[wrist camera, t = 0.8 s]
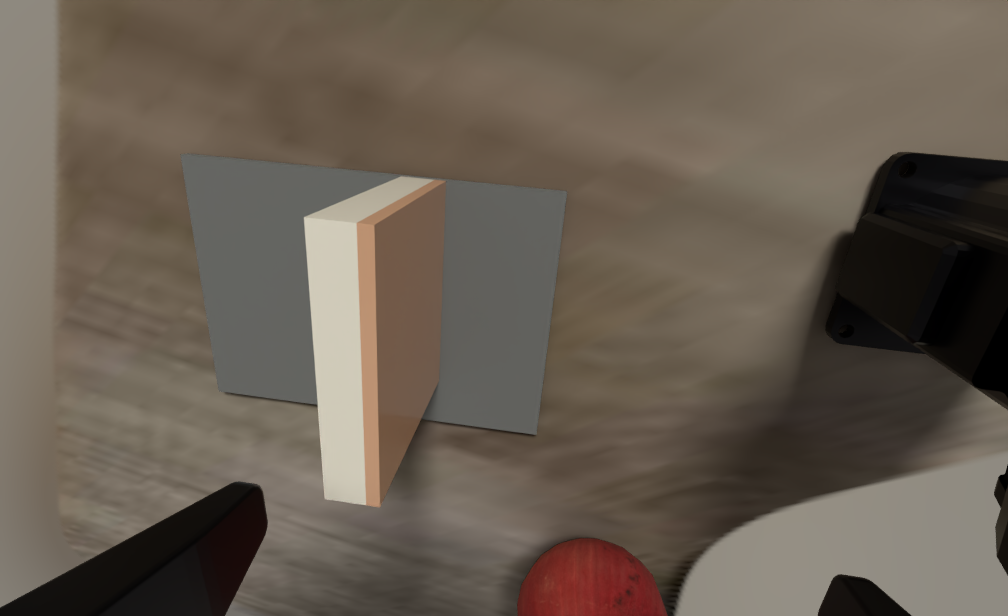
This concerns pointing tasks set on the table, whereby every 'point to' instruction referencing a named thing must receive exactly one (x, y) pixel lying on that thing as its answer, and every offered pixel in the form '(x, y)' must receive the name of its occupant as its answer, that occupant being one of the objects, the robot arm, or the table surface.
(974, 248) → the robot arm
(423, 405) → the tile
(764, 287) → the table surface
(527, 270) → the mat
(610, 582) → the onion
